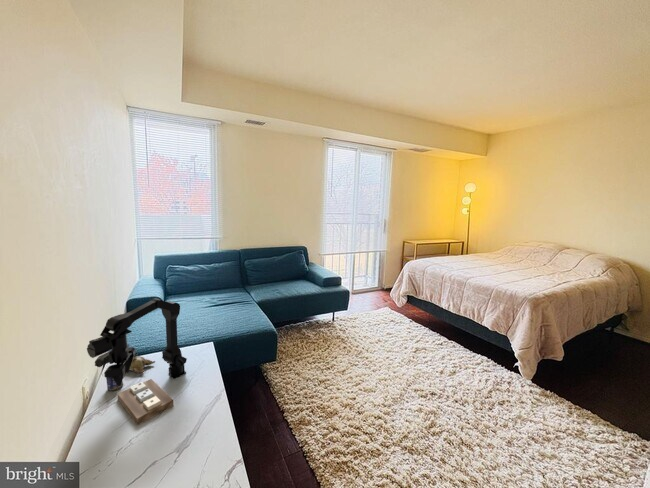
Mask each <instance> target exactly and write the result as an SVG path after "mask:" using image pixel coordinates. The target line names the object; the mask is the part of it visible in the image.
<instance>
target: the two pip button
mask: <svg viewBox="0 0 650 488" xmlns="http://www.w3.org/2000/svg"><path fill="white" fill-rule="evenodd" d="M129 388H130V392H131V393H132V394H133V395H135V394H137V393H139V392H141V391H144V390H146V385H145V384H144V383H143V381H140V382H139V383H136V384H134V385H131V386H129Z"/></svg>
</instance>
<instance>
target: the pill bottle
mask: <svg viewBox="0 0 650 488" xmlns="http://www.w3.org/2000/svg"><path fill="white" fill-rule="evenodd" d="M113 365H116V364H115V363H113ZM105 378H106V388H107V391H108V392H115V391H118V390H120V389H122V387H123V386H124V381H122V384H121V386H118V385H117V384H116V382H115V381H114V379H113V378H112V377H105Z"/></svg>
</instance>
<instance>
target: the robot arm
mask: <svg viewBox="0 0 650 488" xmlns="http://www.w3.org/2000/svg"><path fill="white" fill-rule="evenodd" d="M157 309H161V314H162V316H163V318H164V319H165V332H166V335H165V336H166V339H165V340H166V348H165V349H164V350H162V351H161V353H162V354H161V355H162V356H161V359H162V360H163V361H164V362H166V363H167V364H168V365H169V366H168V376H170V377H171V378H172V379H176V378H179V377H181V376H184V375H185V374H187V371H186V370H185V364H186V363H187V359H188V358H187V357H185V356H183V355H182V349H180V347H179V345H178V320H177V319H178V317H179V315H180V311H181V305H180V303H178V302H176V301H175V302H174V301H171V300H167V301H165V300H163V299H161V298H155V297H154V298H152V299H151V300H149V301H148V302H147V301H146V302H145V303H144V304H142V305H140V306H137V307H136V308H134V309H132V310H130V311H129V312H125V313H122V314H121V313H120V314H117V315H115V316H112V317H110V318H108V319H107V320H106V324H105V326H104V328H103V329H102V331H101V333H100V334H99V336H100V337H97V338H95V339H91V340H89V342H88V343H89V344H88V345H87V348H86V352H87V355H88V356H89V357H90V358H92V359H94V358H96V359H95V361H94V366H95V367H97V368H102V367H103V366H104V365H107V364H110V365H109V366H108V367H107V368H106V370H105V371H104V373H103V374H104V378H106V377H112V378H113V379H114V381H115V382H116V384H117V385H118V386H121V384H122V381H123V380H124V377H125V374H128V373H129V371H130V370H129V369H130V366H131V364H132V361H133V358H134V356H135V355H136V353H137V352H136V348H135V347H133V346H131V347H130V344H128V337H127V335H128V334H130V333H132V330H130V329H128V328H130V327H131V326H132V324H133V323H135V322H136V321H137V320H139V319H141V318H143V317H144V316H146V315H148V314H149V313H151V312H153V311H155V310H157ZM112 332H113V333H112ZM114 364H116V365H114ZM123 382H124V381H123Z"/></svg>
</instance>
